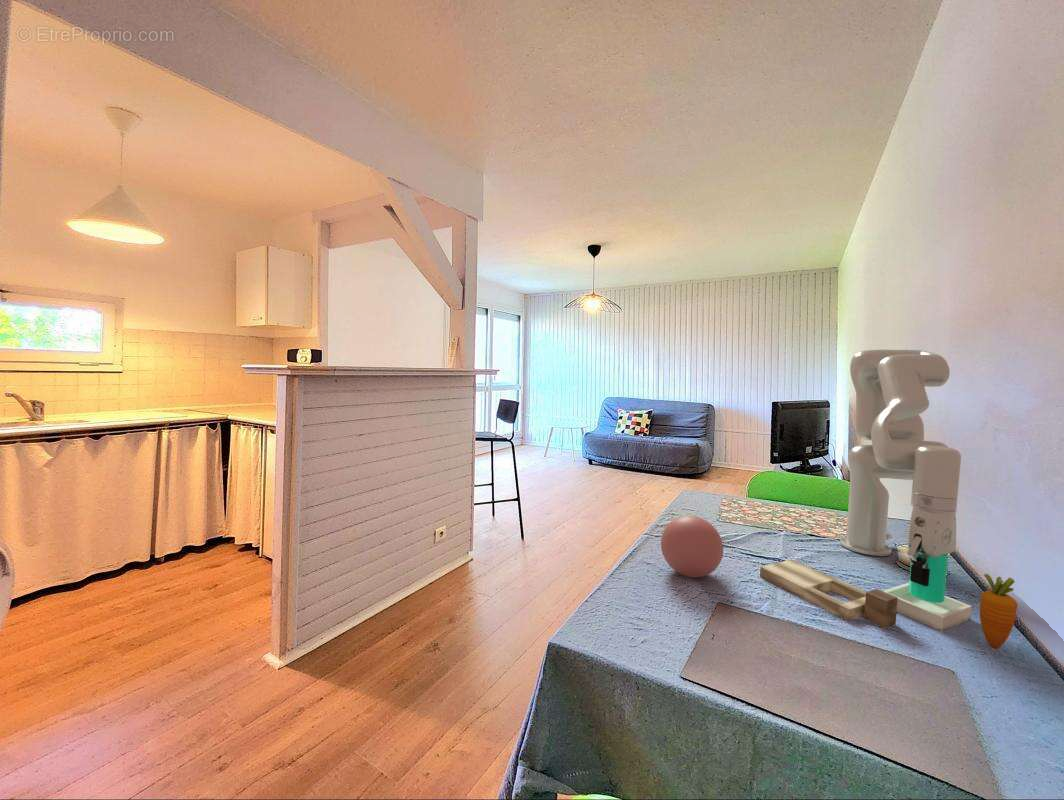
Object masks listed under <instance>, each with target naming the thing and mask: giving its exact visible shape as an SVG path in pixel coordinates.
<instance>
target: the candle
mask: <svg viewBox="0 0 1064 800" xmlns="http://www.w3.org/2000/svg"><path fill="white" fill-rule="evenodd" d="M919 552H922V553H925V551H924V550H921V549H920V550H919ZM918 555H919V554H918ZM948 556H949V554H946V555H942V556H939V557H935V558H932V557H930V556H929V564H928V568H927V569H930V574H929V585H928V586H923V585H920V584H918V583H915V582H912V581H911V580H910V579H909V582H910V583H909V582H908V583H909V592H910V594H911V595H913V596H914V597H916V598H919V599H922V600H924V601H929V602H934V603H942V602H944V601H945V596H946V586H947V573H948V560H949V559H948V558H949V557H948ZM919 557H921V558H922V560H923V561H924V557H925V556H922V555H919ZM909 571H910V572H909V574H910V573H911V568H910V569H909Z"/></svg>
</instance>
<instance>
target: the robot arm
mask: <svg viewBox="0 0 1064 800" xmlns="http://www.w3.org/2000/svg"><path fill="white" fill-rule="evenodd" d="M849 365H850V367H849V370H850V371H849V373H850V377H851V380H852V383H853V384H852V385H853V387H854V390H855V397H856V398H855V423H854V424H855V433H856V435H857V437H858V438H860V439H863V440H866V441H867V440H868V441H871V444H860V445H855V446H854V447H852V448H851V449H850V450H849V452H848V455H847V457H848V458H847V461H848V470H849V495H848V507H847V508H848V511H847V522H846V523H847V524H846V536H843V537H840V539H839V543H840V544H839V545H841V546H843V547H844V548H846V549H847V550H850V551H853V552H855V553H859V554H862V555H863V554H864V555H867V556H872V557H873V556H875V557H885V556H886V557H889V556H890V555H891V554H892V548H891V547H890V545H887V544H886V541H887V540H890V539H891V540H892V537H893V536H892V534H891V533H890V532H887V528H888V527H887V525H888V517H889V513H888V512H889V504H890V503H889V502H890V501H889V500H890V494H889V491H888V489H887V488H886V486H885V485H884V484H883V483H882V482H881V479H892V480H903V481H904V480H905V481H912V485H911V500H910V506H911V507H912V510H911V514H910V519H909V521H910V522H909V526H908V531H907V532H908V534H907V548H908V551H907V556H908V557H909V560H910V562H909V563H910V569H911V573H910V572H909V581H910V580H911V581H912V582H915V583H918V584H920V585H923V586H928V585H929V574H930V569H927V568H928V564H929V556H930V557H932V558H935V557H939V556H942V555H946V554H948V555H949V554H952V553H954V552H955V550H956V548H957V515H956V513H957V507H958V505H957V504H958V496H959V483H960V473H961V463H962V462H961V461H962V455H961V452H960V451H959V450H957V449H955V448H952V447H949V446H948V445H947V444H945V443H943V442H939V441H931V440H925V426H924V421H923V419H922V417H921V414H922V413H924V412H926V411H927V409H928V408H929V406H930V400H929V397H928V394H927V391H926V388H925V387H928V388H930V387H933V388H935V387H941V386H944V385H945V384H946V383H947V382H948V380H949V378H950V366H949V363H948V361H947V360H946V359H945V358H944V357H943V356H942V355H939V354H937V353H935V352H930V351H926V350H923V349H922V350H921V349H867V350H862V351H859V352H856V353H855V354H854V355H853V356H852V358H851V360H850V364H849ZM920 549H921V550H924V551H925V553H922V552H919V550H920ZM918 554H919V555H922V556H925V557H924V561H923V560H922V558H921V557H919V555H918Z"/></svg>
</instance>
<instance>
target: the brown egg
mask: <svg viewBox="0 0 1064 800" xmlns="http://www.w3.org/2000/svg"><path fill="white" fill-rule="evenodd" d="M660 538H661V539H660V549H661V552H662V553H661V554H662V556H663V557H664V560H665V561H666V563H667V565H668V566H669V567H671V568H672V570H674V571H675V572H676V573H678V574H680V575H681V576H685V577H688V578H702V577H706V576H708V575H710V574H712V573H713V572H714V571H715V570H717V568H718V567H719V566H720V564H721V562H722V559H723V557H724V556H723V555H724V544H723V543H724V542H723V540H722V536H721V534H720V532H719V531H718V530H717V528H716V527H715V526H714V525H713V524H712V523H711V522H709V521H708V520H706V519H704V518H702V517H700V516H697V515H682V516H678V517H676V518H674V519H672V520H671V521H669V523H668V524H667V525H666V526H665V527H664V529H663V531H662V533H661V537H660Z"/></svg>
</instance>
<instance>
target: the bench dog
mask: <svg viewBox="0 0 1064 800" xmlns="http://www.w3.org/2000/svg"><path fill="white" fill-rule="evenodd" d="M883 591H884V590H881V589H879V588H875V589H873V590H869V591H866V598H865V611H864V615H863V620H866V621H868V622H870V623H872V624H874V625H876V626H878V627H880V628H882V629H888V628H889V627H893V626H896V623H897V613H898V612H897V601H898V597H895V596H893V595H891V594H888V593H886V592H883ZM887 627H888V628H887Z"/></svg>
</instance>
